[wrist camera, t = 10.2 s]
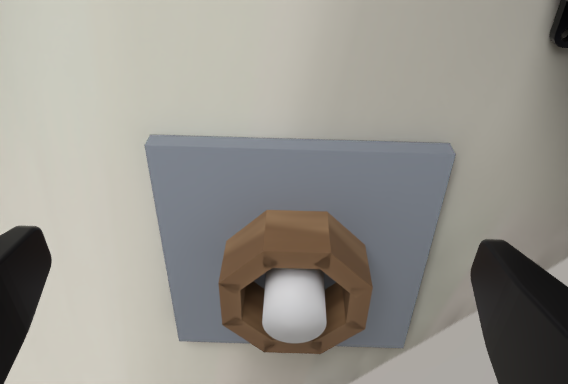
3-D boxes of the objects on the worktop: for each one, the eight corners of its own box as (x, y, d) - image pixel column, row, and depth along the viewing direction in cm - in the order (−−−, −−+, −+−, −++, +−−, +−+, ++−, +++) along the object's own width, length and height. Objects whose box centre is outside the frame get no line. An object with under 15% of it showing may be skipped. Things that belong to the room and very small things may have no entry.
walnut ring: (370, 212, 23) (379, 254, 20) (354, 310, 27) (360, 354, 24) (224, 208, 23) (214, 249, 20) (231, 306, 27) (224, 351, 25)
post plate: (449, 143, 22) (485, 208, 17) (400, 334, 30) (416, 409, 26) (150, 134, 22) (116, 197, 18) (182, 328, 30) (163, 401, 26)
